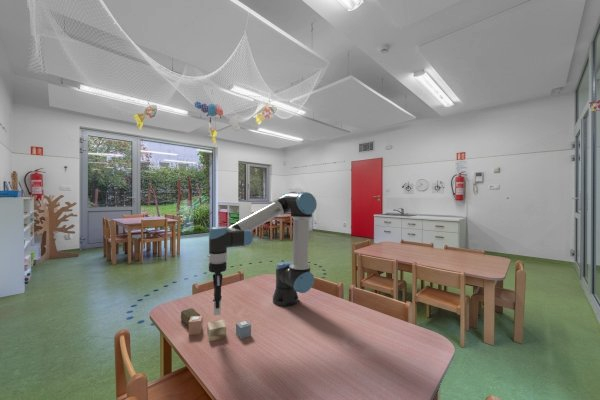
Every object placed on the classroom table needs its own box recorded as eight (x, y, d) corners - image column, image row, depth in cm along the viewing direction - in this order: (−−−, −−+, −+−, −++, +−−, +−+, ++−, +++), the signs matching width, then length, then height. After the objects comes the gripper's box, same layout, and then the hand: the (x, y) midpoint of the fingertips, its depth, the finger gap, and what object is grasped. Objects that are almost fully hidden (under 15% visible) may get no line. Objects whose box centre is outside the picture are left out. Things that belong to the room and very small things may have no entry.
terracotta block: (202, 328, 119) (202, 315, 119) (200, 334, 114) (200, 320, 114) (191, 329, 118) (191, 315, 118) (188, 335, 113) (188, 321, 113)
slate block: (246, 330, 117) (246, 319, 117) (250, 335, 113) (251, 323, 113) (235, 334, 114) (236, 322, 114) (240, 339, 110) (240, 327, 110)
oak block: (223, 330, 118) (223, 319, 118) (226, 337, 111) (226, 326, 111) (207, 333, 115) (207, 322, 114) (209, 341, 108) (209, 330, 108)
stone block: (189, 328, 118) (189, 318, 118) (180, 320, 126) (180, 310, 126) (201, 324, 122) (201, 314, 122) (191, 316, 130) (191, 306, 130)
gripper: (208, 258, 117) (207, 309, 118) (209, 266, 105) (208, 322, 106) (225, 257, 120) (224, 307, 121) (227, 264, 108) (227, 319, 108)
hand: (217, 314), depth 113 cm, fingers closed
